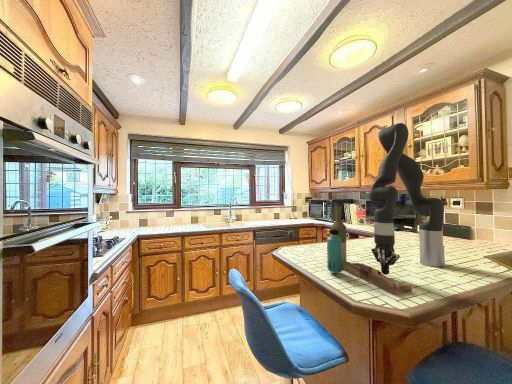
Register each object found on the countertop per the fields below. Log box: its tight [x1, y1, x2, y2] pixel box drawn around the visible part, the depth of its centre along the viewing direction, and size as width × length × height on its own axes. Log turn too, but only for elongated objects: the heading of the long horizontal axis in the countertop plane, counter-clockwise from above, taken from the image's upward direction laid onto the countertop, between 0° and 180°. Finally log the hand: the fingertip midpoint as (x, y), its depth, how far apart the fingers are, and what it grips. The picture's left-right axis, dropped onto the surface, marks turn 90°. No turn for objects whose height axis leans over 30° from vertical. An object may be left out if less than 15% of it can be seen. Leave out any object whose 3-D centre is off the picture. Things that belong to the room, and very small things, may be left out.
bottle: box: [330, 205, 347, 269], centre depth 108 cm, size 7×7×30 cm
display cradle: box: [342, 260, 413, 296], centre depth 91 cm, size 8×28×6 cm, turn 14°
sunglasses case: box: [357, 263, 391, 280], centre depth 94 cm, size 18×7×7 cm
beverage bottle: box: [326, 228, 343, 274], centre depth 98 cm, size 6×7×20 cm
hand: (385, 273), depth 92 cm, fingers closed
